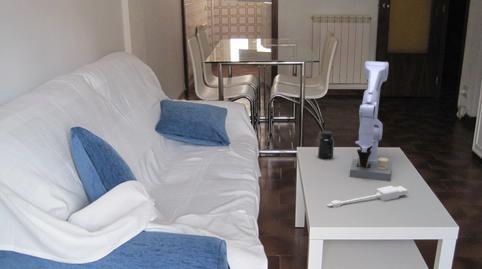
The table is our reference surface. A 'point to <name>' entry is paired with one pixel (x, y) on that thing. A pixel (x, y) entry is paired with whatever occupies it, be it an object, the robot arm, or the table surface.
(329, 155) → the supplement bottle
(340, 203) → the charging cable
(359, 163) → the brown wooden block
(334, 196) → the table surface
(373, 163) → the board with square hole
